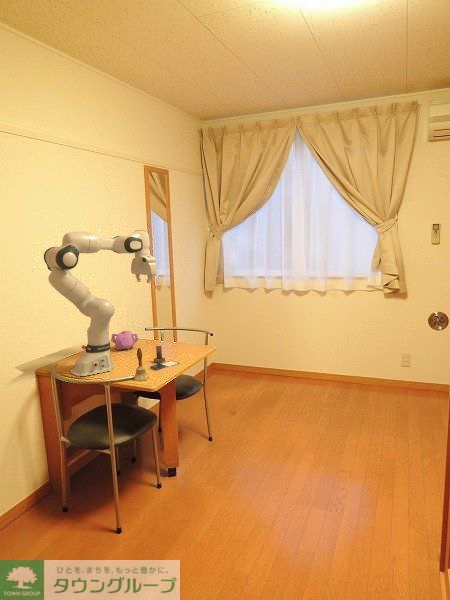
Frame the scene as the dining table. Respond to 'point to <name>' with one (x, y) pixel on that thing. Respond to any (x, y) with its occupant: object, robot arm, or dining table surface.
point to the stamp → (159, 355)
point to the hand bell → (140, 369)
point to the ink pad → (157, 367)
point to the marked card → (170, 363)
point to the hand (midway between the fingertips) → (143, 282)
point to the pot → (124, 340)
